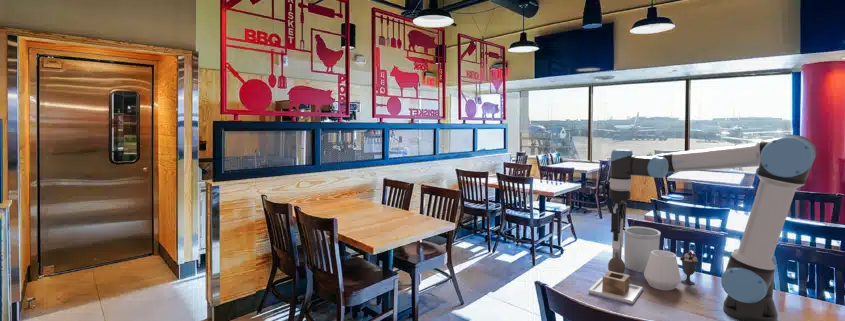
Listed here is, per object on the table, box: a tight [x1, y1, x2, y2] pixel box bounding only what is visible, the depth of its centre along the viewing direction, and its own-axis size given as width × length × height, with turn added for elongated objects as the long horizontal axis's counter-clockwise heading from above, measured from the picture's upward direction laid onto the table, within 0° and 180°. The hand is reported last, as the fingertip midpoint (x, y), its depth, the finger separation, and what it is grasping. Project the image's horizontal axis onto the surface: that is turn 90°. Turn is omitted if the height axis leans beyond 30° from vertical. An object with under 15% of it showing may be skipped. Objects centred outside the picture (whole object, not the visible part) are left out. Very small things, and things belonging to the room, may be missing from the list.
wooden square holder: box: [602, 270, 631, 296], centre depth 167 cm, size 8×8×6 cm
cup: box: [643, 249, 682, 291], centre depth 172 cm, size 13×13×14 cm
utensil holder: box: [623, 226, 662, 273], centre depth 193 cm, size 15×15×18 cm
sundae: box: [679, 248, 700, 286], centre depth 175 cm, size 7×7×15 cm
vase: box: [607, 257, 626, 274], centre depth 185 cm, size 7×7×9 cm
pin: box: [611, 218, 624, 259], centre depth 165 cm, size 3×3×16 cm
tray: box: [588, 276, 644, 305], centre depth 167 cm, size 16×16×2 cm
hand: (617, 247), depth 166 cm, fingers closed on pin, 3 cm apart
